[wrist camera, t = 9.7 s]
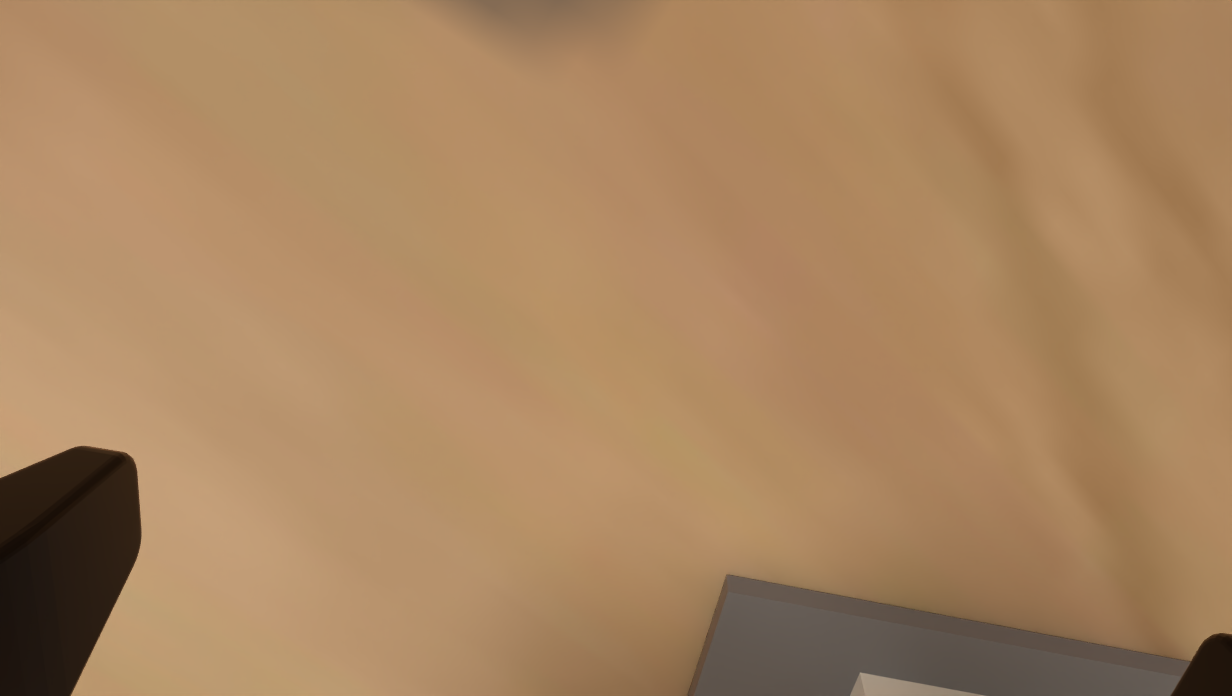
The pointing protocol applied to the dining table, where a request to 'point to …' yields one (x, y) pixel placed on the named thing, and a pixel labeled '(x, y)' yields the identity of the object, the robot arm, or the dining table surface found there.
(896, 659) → the tray on grey plate
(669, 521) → the dining table surface
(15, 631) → the robot arm
